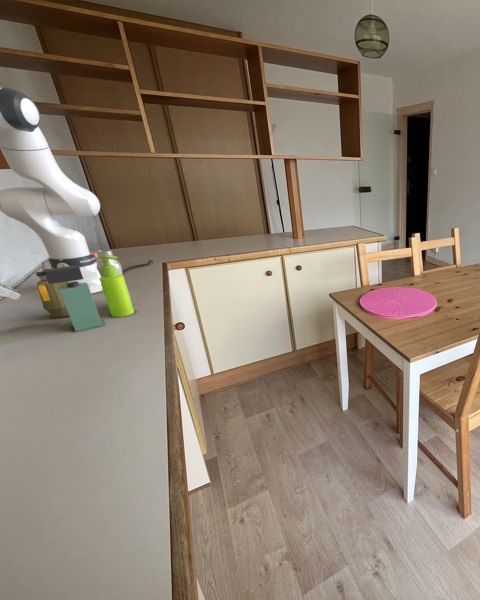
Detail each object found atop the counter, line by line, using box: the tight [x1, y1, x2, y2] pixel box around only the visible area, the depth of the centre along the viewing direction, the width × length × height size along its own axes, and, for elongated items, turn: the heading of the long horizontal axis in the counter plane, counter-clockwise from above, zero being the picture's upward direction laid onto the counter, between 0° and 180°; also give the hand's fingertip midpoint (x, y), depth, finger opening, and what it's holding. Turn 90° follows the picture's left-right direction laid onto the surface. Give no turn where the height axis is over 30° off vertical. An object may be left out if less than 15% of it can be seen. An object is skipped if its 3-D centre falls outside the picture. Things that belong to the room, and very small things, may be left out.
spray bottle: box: [35, 265, 103, 332], centre depth 92 cm, size 9×5×19 cm, turn 137°
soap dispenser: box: [97, 255, 135, 318], centre depth 102 cm, size 6×7×20 cm
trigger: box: [37, 284, 50, 301], centre depth 88 cm, size 1×3×4 cm, turn 47°
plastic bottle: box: [96, 249, 133, 303], centre depth 108 cm, size 6×7×20 cm
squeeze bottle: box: [36, 260, 70, 318], centre depth 100 cm, size 8×8×18 cm
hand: (19, 296), depth 85 cm, fingers closed
